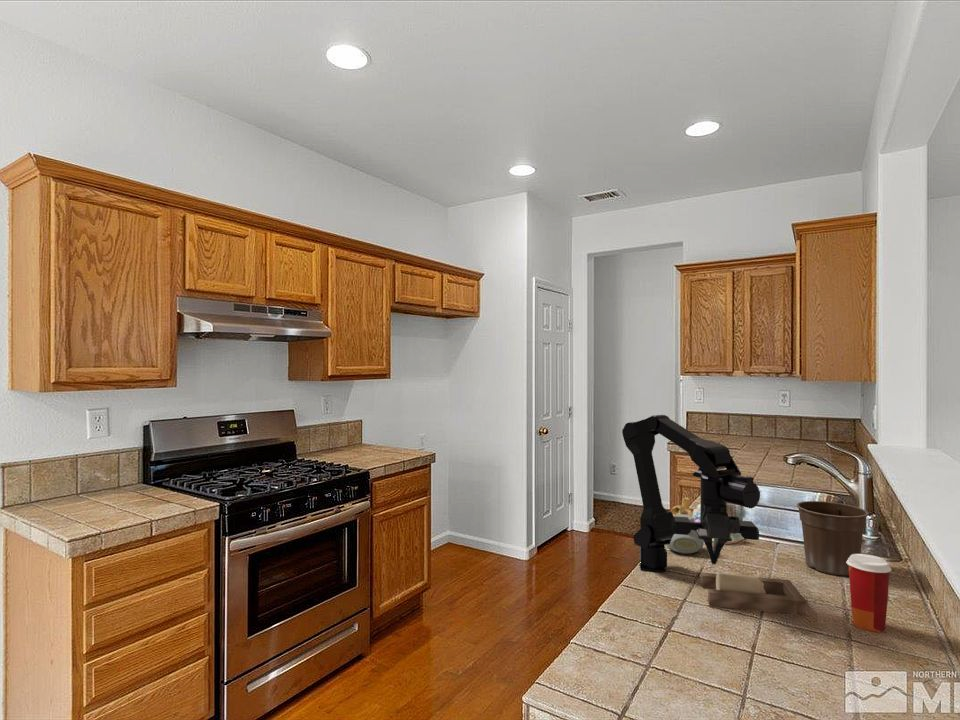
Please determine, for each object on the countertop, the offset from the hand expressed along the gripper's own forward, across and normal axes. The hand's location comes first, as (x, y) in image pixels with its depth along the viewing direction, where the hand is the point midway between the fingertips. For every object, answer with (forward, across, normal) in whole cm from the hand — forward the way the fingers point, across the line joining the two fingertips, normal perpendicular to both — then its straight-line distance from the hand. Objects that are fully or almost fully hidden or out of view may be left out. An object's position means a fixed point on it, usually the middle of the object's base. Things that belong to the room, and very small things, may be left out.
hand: (713, 563), depth 129 cm
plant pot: (+8, +34, +26) cm, 44 cm away
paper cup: (+8, +29, -8) cm, 31 cm away
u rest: (+8, +7, 0) cm, 10 cm away
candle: (+5, +1, 0) cm, 5 cm away
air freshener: (+8, -3, +31) cm, 32 cm away
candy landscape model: (+8, +6, +52) cm, 53 cm away
